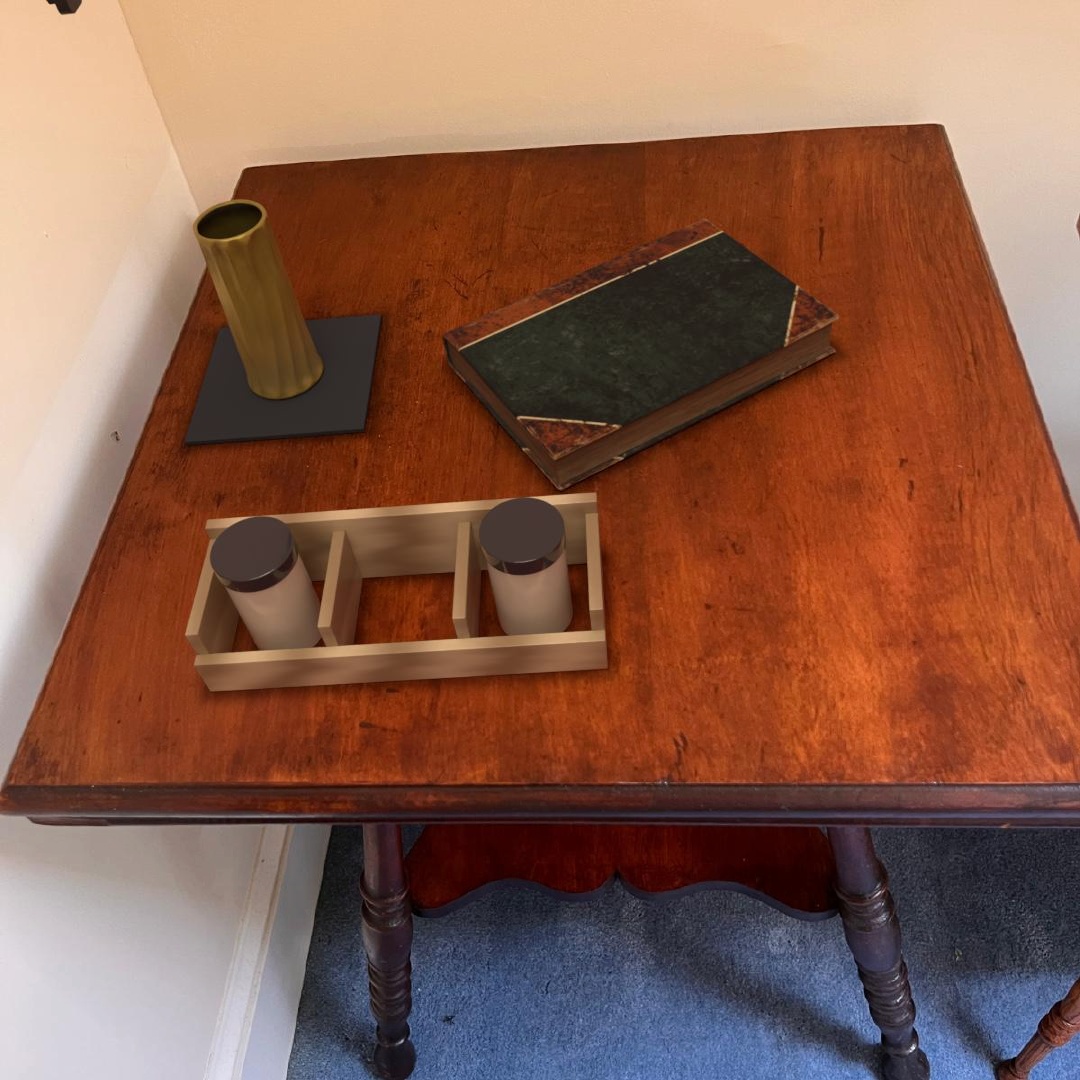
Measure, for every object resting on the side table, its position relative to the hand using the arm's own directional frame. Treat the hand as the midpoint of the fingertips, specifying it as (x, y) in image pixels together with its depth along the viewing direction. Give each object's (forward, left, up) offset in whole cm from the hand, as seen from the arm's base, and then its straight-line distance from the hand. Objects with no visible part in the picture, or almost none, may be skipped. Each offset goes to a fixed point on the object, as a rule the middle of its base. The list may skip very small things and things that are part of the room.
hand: (145, 0), depth 58 cm
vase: (-1, +4, -31) cm, 31 cm away
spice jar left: (+3, -21, -31) cm, 38 cm away
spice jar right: (+19, -21, -31) cm, 42 cm away
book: (+27, +3, -31) cm, 41 cm away
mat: (-1, +4, -31) cm, 31 cm away
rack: (+11, -21, -31) cm, 39 cm away
